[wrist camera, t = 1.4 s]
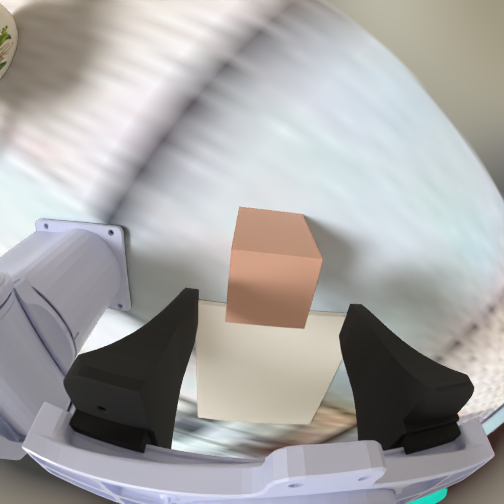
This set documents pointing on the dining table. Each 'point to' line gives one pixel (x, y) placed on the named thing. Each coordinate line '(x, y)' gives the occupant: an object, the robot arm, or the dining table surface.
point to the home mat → (264, 367)
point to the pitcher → (7, 39)
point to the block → (272, 269)
